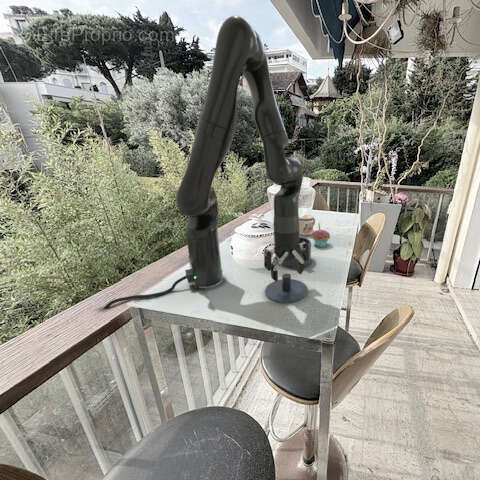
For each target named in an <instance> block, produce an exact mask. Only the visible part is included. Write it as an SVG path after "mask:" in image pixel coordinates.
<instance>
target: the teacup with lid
mask: <svg viewBox="0 0 480 480" xmlns="http://www.w3.org/2000/svg"><path fill="white" fill-rule="evenodd" d="M299 224H300V226H299V236H302V237H304V236H305V237H306V236H312V233H313V232H314V226H315V224H316V218H315V217H314V215H313V214H310V213H308V214H306V215H304V216H302V217H299Z"/></svg>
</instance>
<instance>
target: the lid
mask: <svg viewBox="0 0 480 480" xmlns="http://www.w3.org/2000/svg"><path fill="white" fill-rule="evenodd" d="M308 291H309V288H308V285H306V283H305V282H303V281H301V280H298V279H293V278H292V275H291V274H290V273H282V275H281V279H278V281H275V280H273V282H270V283H269V284H268V285H267V286H266V287H265V290H264V293H265V296H266V298H267V299H269V300H270V301H272V302H275V303H278V304H293V303H296V302H300V301H301V300H303V299H305V298H306V296H307V295H308Z"/></svg>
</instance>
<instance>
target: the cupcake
mask: <svg viewBox="0 0 480 480" xmlns="http://www.w3.org/2000/svg"><path fill="white" fill-rule="evenodd" d="M311 239H312V240H313V241H314V244H315V246H316V247H319V248H324V247H326V246H327V243H328V241H329V240H330V239H331V234H330V233H329V232H328V231H327V230H325V229H321V223H320V222H318V229H317V230H315V231H313V233H312V234H311Z"/></svg>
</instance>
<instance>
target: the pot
mask: <svg viewBox="0 0 480 480" xmlns="http://www.w3.org/2000/svg"><path fill="white" fill-rule="evenodd" d="M302 241H304V242H306V243H307V244H308V247H309V260H308V261H305V262H304V263H303V267H305V266H307V265H309V264H311V260H312V257H311V256H312V241H311V239H309V238H307V237H304V236H299V244H300V243H301V242H302ZM298 254H299V255H300V257H302V249H301V248H300V249H299V251H298ZM297 262H298V261H297V259H296V258H293V259H292V260H287V261H283V262H282V264H281V265H280V266H284V267H286V268H292V269H294V268H297Z"/></svg>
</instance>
